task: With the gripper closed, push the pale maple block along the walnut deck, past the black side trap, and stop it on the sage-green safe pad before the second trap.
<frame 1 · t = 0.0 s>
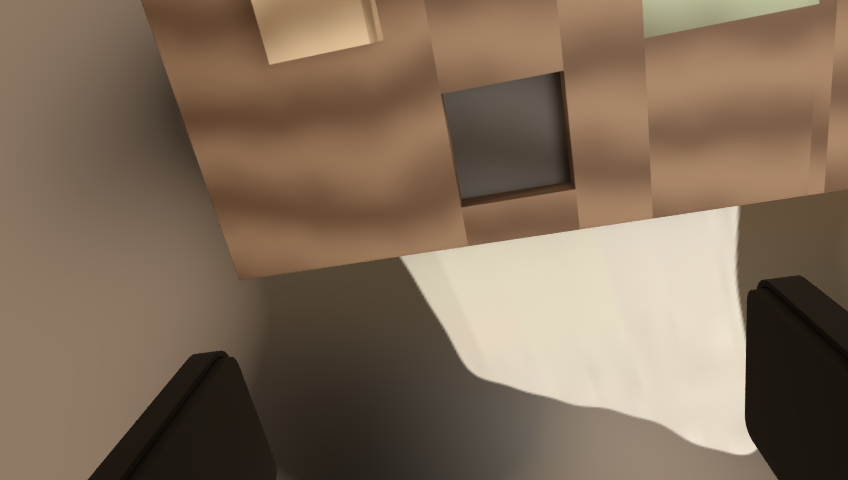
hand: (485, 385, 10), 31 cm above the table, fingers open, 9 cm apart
trap deck: (556, 52, 37), on the table
maple block: (327, 0, 35), point 2 cm above the table, touching trap deck
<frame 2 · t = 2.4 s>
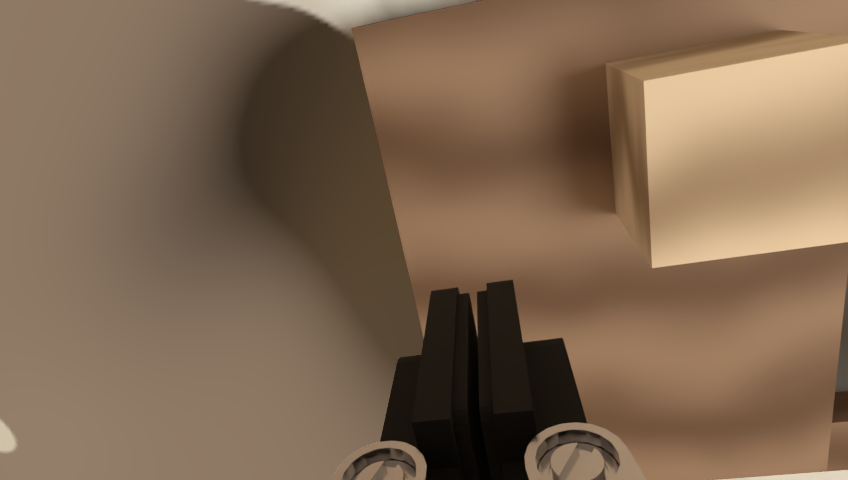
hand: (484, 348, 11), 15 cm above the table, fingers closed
maple block: (692, 129, 21), point 2 cm above the table, touching trap deck
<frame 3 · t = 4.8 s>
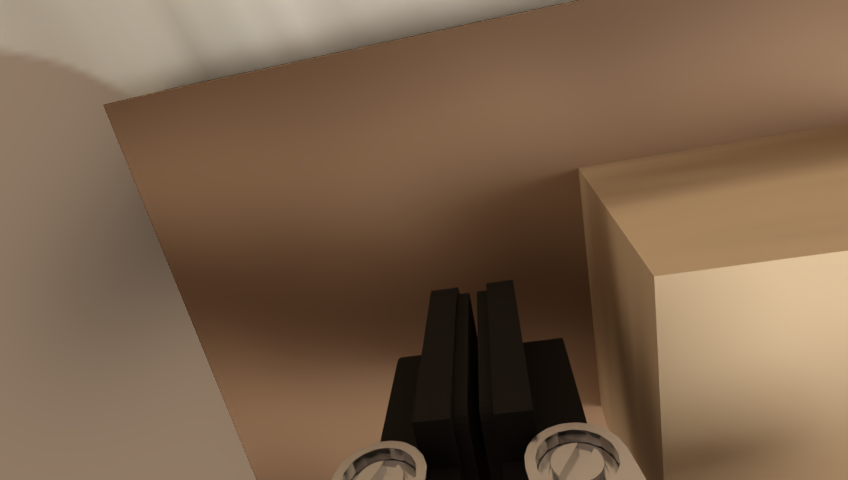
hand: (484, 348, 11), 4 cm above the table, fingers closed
maple block: (733, 279, 12), point 3 cm above the table, touching gripper, trap deck
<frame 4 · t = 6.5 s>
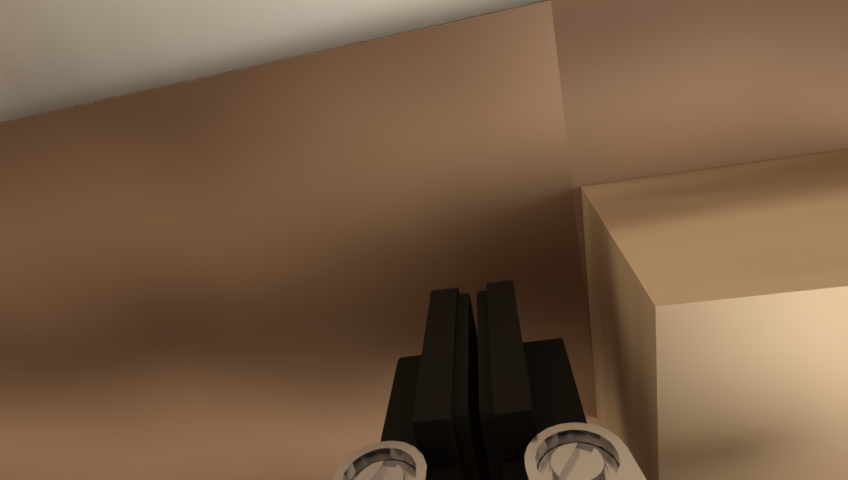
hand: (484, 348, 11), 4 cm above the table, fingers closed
maple block: (730, 297, 12), point 3 cm above the table, touching gripper
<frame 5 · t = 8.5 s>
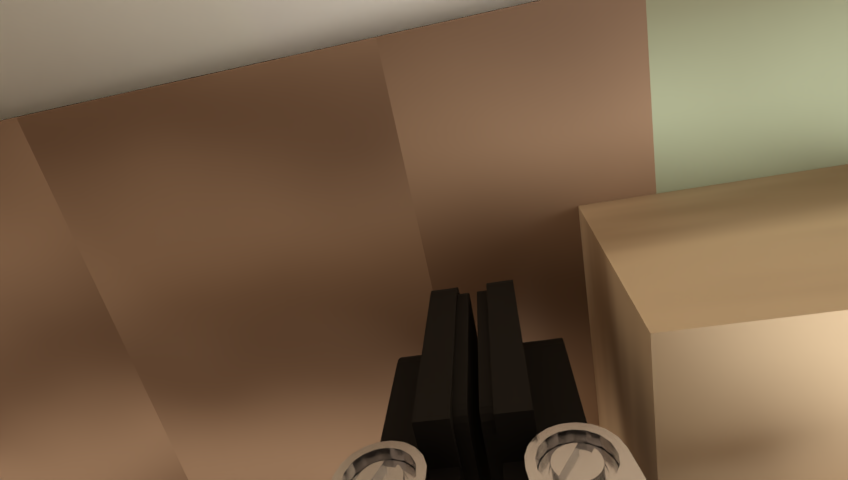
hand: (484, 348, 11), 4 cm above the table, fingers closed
trap deck: (478, 433, 17), on the table
maple block: (728, 311, 12), point 3 cm above the table, touching gripper
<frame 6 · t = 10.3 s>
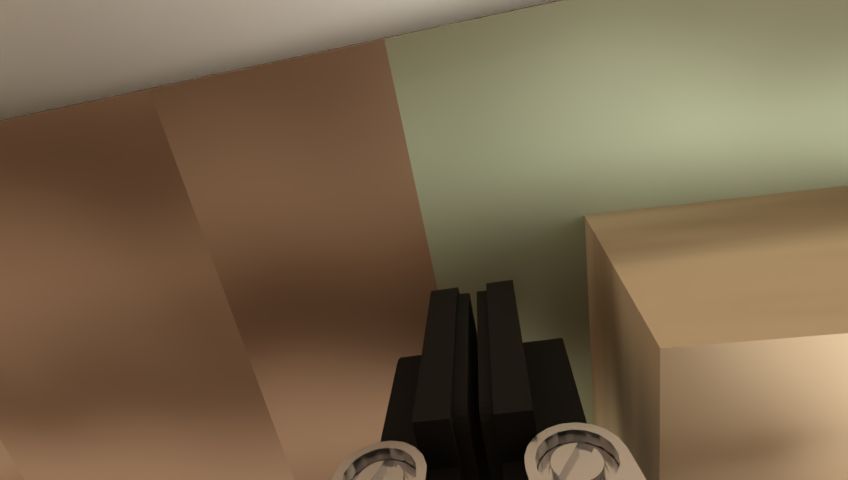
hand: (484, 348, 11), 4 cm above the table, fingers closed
trap deck: (329, 452, 18), on the table
maple block: (727, 325, 12), point 2 cm above the table, touching gripper, trap deck
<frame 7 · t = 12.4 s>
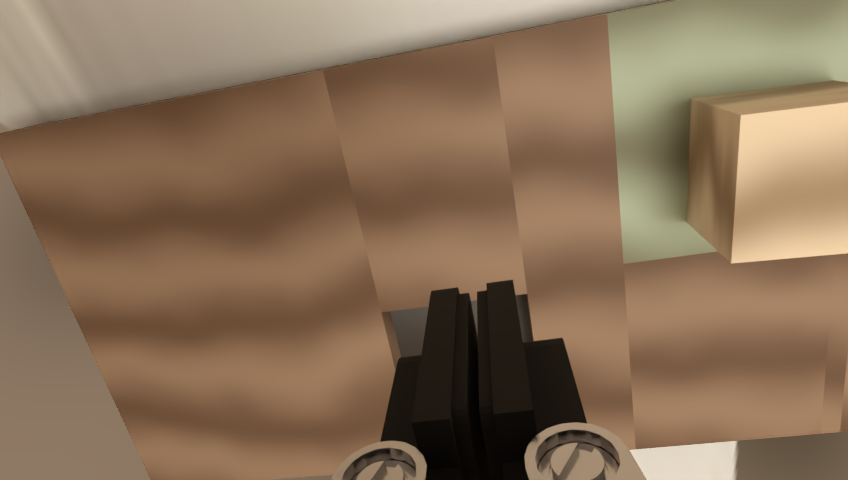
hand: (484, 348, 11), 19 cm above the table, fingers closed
trap deck: (521, 258, 31), on the table
maple block: (756, 155, 25), point 2 cm above the table, touching trap deck
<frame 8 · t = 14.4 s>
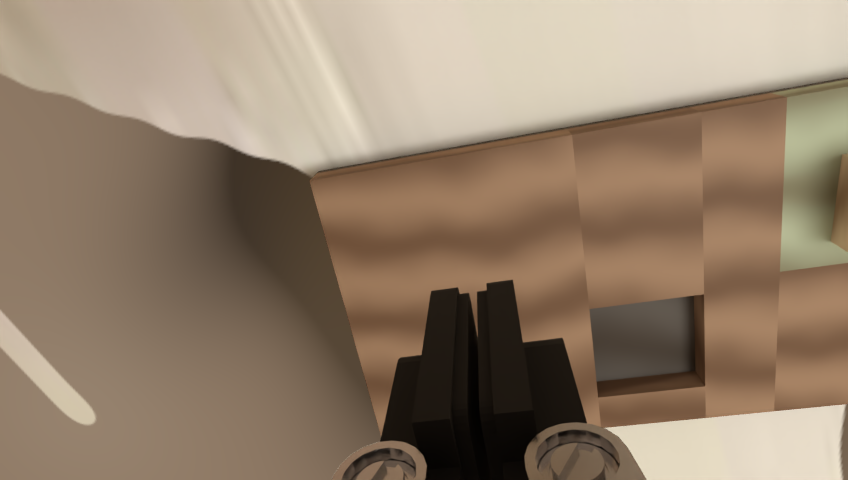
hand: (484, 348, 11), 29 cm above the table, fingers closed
trap deck: (690, 266, 41), on the table
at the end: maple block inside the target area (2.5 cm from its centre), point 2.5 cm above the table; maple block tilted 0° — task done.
